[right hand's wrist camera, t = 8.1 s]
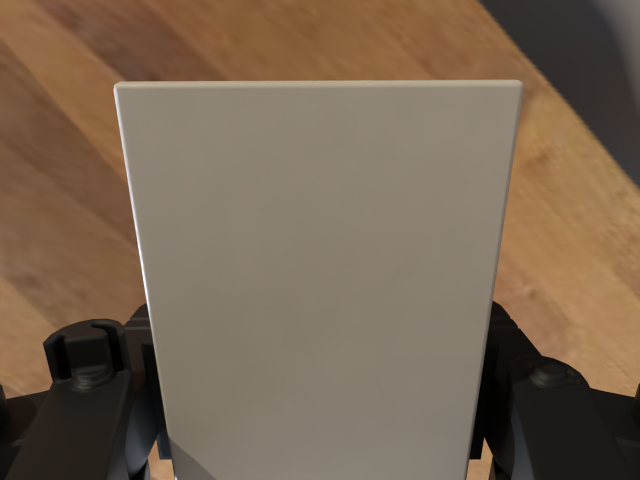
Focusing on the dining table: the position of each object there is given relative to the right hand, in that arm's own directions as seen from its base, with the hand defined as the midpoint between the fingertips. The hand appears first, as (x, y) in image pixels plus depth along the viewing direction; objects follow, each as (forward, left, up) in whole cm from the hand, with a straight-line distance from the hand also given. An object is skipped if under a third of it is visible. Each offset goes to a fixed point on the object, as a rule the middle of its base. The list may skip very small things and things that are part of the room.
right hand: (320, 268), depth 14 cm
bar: (-10, -18, -1) cm, 21 cm away
